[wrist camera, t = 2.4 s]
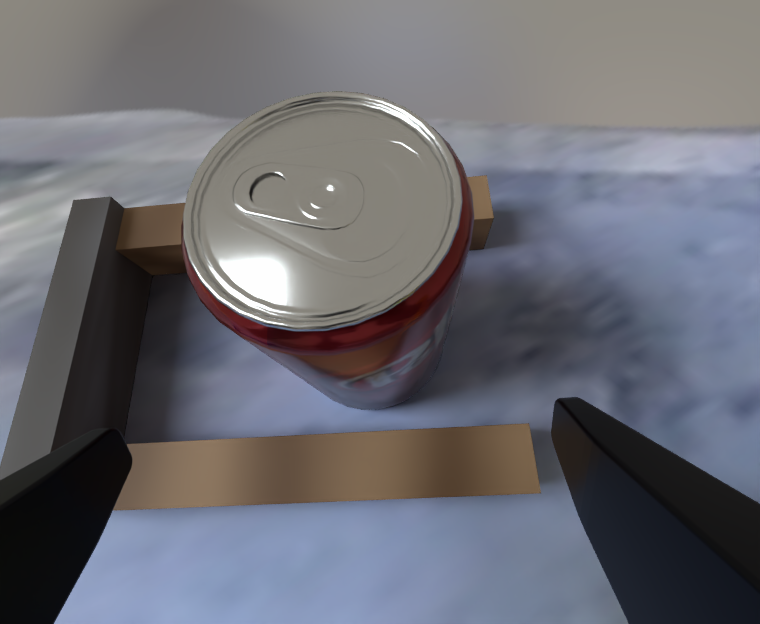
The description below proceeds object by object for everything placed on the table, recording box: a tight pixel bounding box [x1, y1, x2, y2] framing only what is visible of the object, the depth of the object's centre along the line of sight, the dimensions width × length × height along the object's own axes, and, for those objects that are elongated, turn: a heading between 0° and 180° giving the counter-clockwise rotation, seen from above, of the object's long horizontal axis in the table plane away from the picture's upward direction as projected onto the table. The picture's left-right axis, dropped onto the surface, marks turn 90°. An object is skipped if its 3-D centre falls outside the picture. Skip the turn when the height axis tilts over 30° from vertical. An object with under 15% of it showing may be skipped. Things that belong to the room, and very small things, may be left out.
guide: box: [0, 175, 541, 510], centre depth 19 cm, size 21×14×4 cm
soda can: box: [181, 91, 474, 410], centre depth 15 cm, size 7×7×12 cm
